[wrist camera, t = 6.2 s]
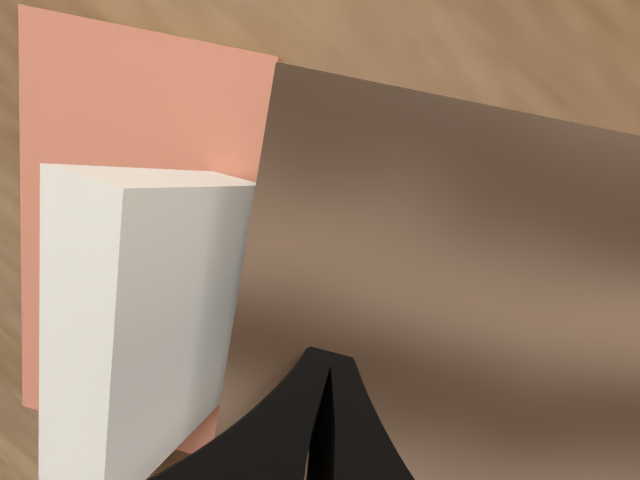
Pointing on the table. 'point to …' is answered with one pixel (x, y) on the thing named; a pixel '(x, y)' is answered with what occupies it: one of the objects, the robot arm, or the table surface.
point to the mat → (127, 125)
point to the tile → (133, 312)
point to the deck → (448, 276)
